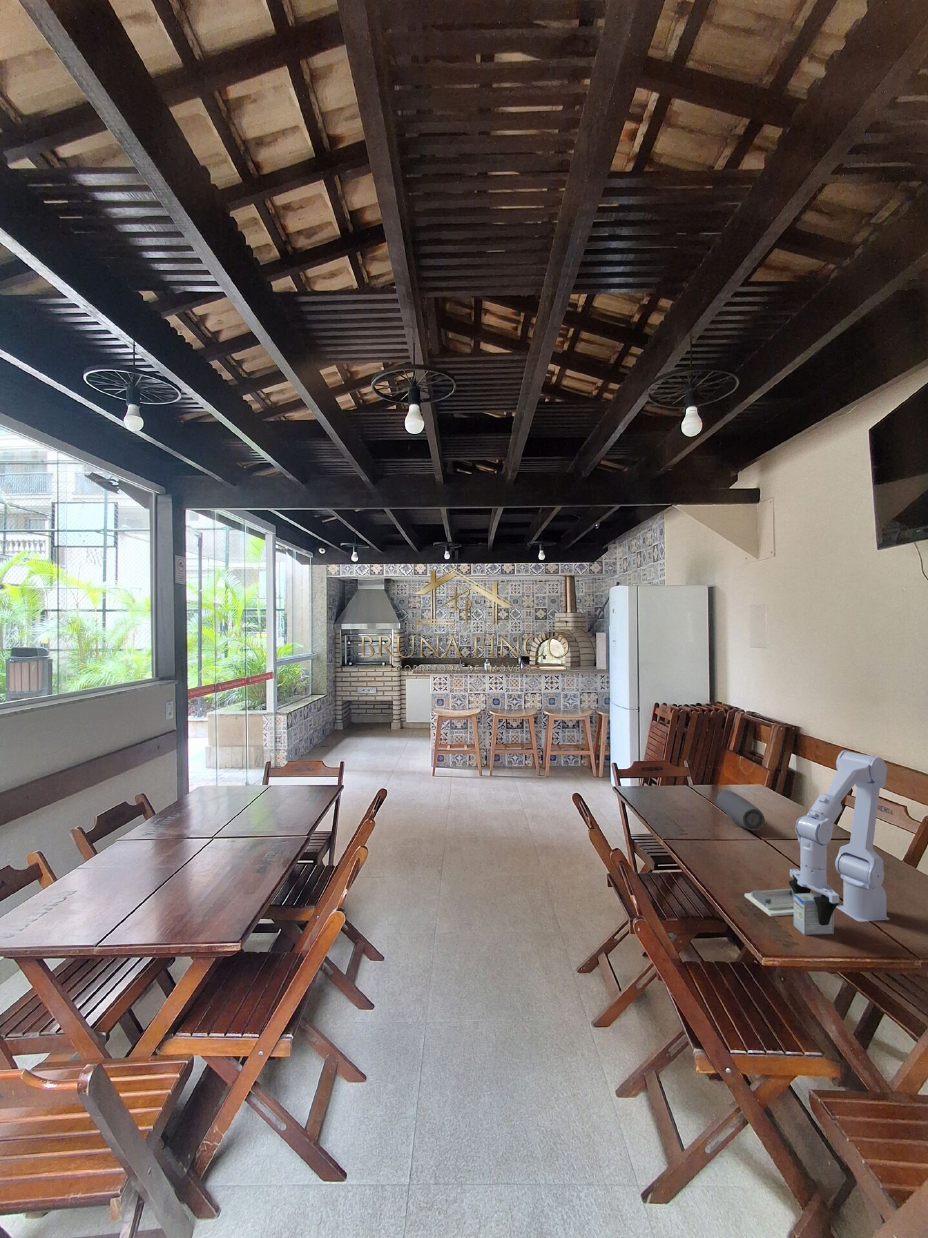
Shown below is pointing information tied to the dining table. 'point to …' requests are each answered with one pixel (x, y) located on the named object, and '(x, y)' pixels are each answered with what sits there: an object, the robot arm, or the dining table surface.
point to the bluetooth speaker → (740, 810)
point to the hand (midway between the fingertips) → (813, 917)
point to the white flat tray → (773, 901)
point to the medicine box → (809, 915)
